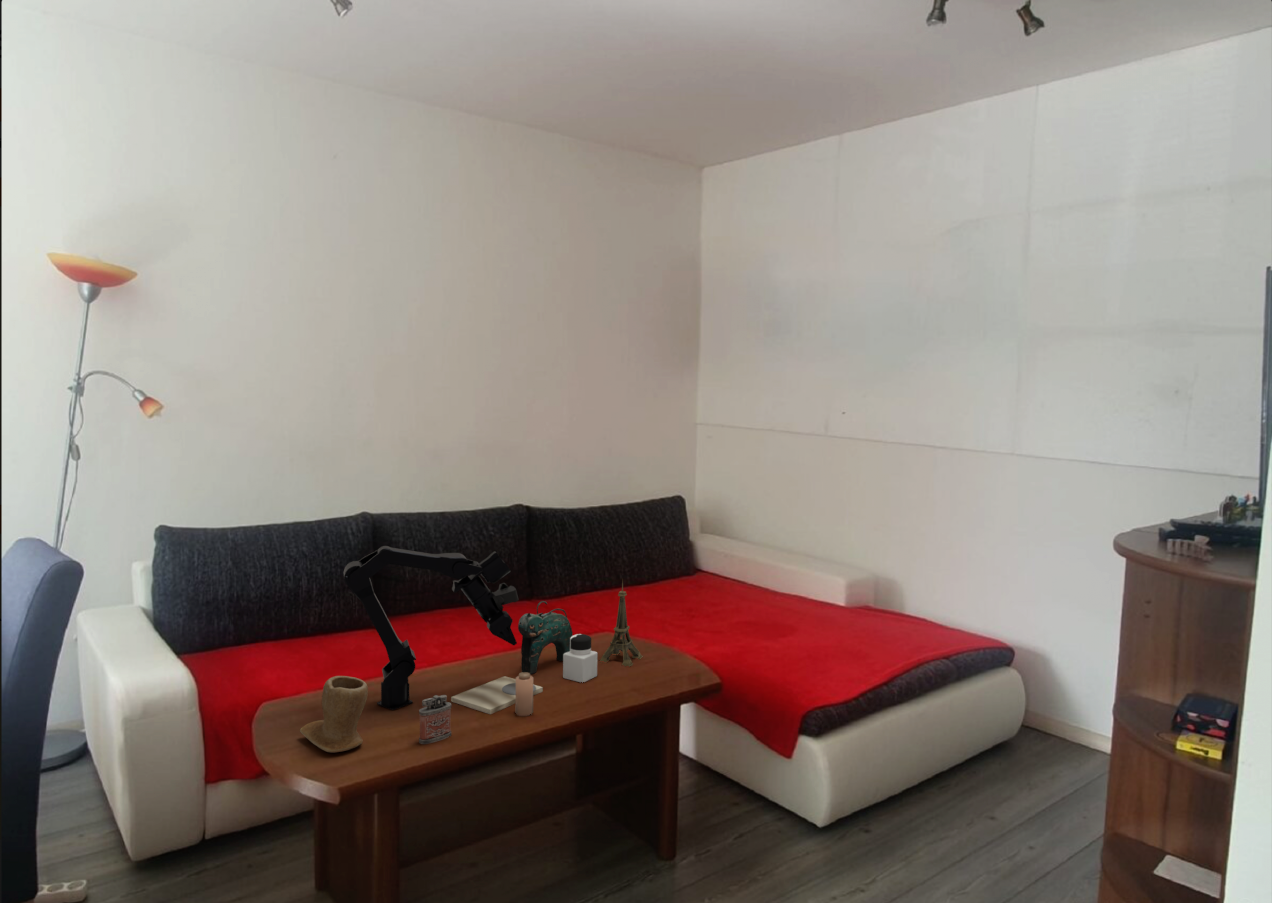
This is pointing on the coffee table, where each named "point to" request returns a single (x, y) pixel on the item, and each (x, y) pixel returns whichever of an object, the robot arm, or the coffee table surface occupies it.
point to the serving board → (491, 695)
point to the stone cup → (339, 715)
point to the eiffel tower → (620, 632)
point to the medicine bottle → (580, 659)
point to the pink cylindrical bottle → (524, 694)
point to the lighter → (435, 719)
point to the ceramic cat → (543, 636)
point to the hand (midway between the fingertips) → (511, 639)
